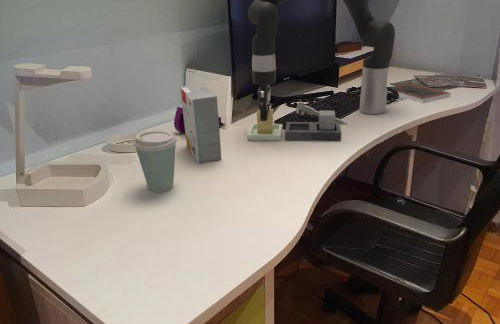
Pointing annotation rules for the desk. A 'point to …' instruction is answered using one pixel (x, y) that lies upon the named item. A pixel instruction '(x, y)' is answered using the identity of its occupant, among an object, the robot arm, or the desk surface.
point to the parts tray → (275, 136)
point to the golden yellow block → (265, 123)
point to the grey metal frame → (310, 132)
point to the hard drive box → (201, 122)
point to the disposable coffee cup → (157, 158)
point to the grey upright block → (326, 120)
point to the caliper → (312, 112)
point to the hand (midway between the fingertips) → (265, 116)
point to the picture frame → (420, 92)
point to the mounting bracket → (182, 120)
